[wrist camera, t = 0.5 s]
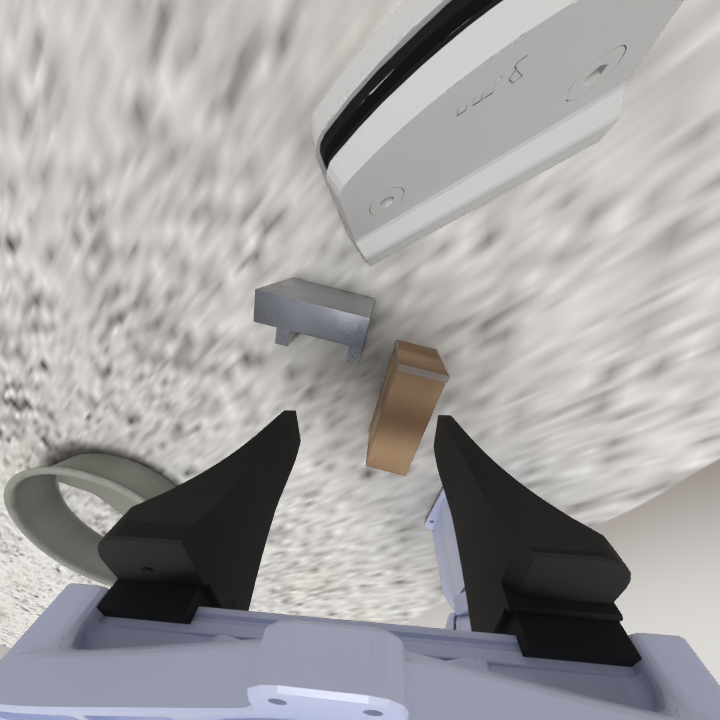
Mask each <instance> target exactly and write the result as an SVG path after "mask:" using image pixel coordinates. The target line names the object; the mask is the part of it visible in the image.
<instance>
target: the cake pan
mask: <svg viewBox="0 0 720 720" xmlns="http://www.w3.org/2000/svg"><path fill="white" fill-rule="evenodd" d="M58 481H59V482H62V483H65V484H67V485H70V486H73V487H76V488H79V489H82V490H85V491H87V492H91V493H93V494H95V495H96V496H98V497H99V498H101V499H102V500H104V501H105V502H106V503H108V504H109V505H110V506H112V507H113V508H115V509H116V510H117V511H119V512H120V513H122V514H123V515H124V514H125V513H126V512H127V511H128V510H129V509H130V508H131V507H132V506H135V505H137V504H140V503H142V502H144V501H146V500H149V499H151V498H153V497H156V496H158V495H160V494H162V493H164V492H167V491H169V490H171V489H173V488H175V487H177V486H176V485H174V484H173V483H172V482H170V481H169V480H168V479H166V478H165V477H163V476H162V475H160V474H159V473H157V472H155V471H154V470H152V469H150V468H148V467H146V466H144V465H141V464H139V463H137V462H134V461H132V460H129V459H126V458H122V457H119V456H115V455H110V454H102V453H86V454H80V455H76V456H73V457H71V458H68V459H66V460H64V461H61V462H59V463H57V464H55V465H52V466H45V467H36V468H32V469H28V470H25V471H22V472H20V473H18V474H16V475H14V476H13V477H12V478H11V479H10V480H9V481H8V483H7V484H6V487H5V490H4V501H5V505H6V508H7V511H8V513H9V515H10V517H11V518H12V520H13V521H14V523H15V524H16V526H17V527H18V528H19V529H20V531H21V532H22V533H23V534H24V535H25V536H26V537H27V538H28V539H29V540H30V541H31V542H32V543H33V544H34V545H35V546H37V547H38V548H39V549H40V550H42V551H43V552H44V553H46V554H47V555H48V556H50V557H51V558H53V559H54V560H56V561H57V562H59V563H60V564H62V565H64V566H65V567H67V568H69V569H71V570H73V571H74V572H76V573H78V574H80V575H83V576H85V577H87V578H89V579H92V580H94V581H97V582H100V583H102V584H105V585H108V586H111V587H112V586H113V584H114V583H115V582H116V580H117V577H116V576H115V575H114V574H113V573H112V571H111V570H110V569H109V568H108V567H107V565H106V564H105V563H104V562H103V561H102V559H101V558H100V556H99V555H98V544H99V542H100V541H101V540H102V538H103V536H101V535H100V534H98V533H97V532H95V531H94V530H92V529H91V528H90V527H88V526H87V525H86V524H84V523H83V522H82V521H81V520H80V519H79V518H78V517H77V516H76V515H75V514H74V513H73V512H72V511H71V509H70V508H69V507H68V506H67V504H66V503H65V501H64V499H63V497H62V495H61V492H60V489H59V485H58Z"/></svg>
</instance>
